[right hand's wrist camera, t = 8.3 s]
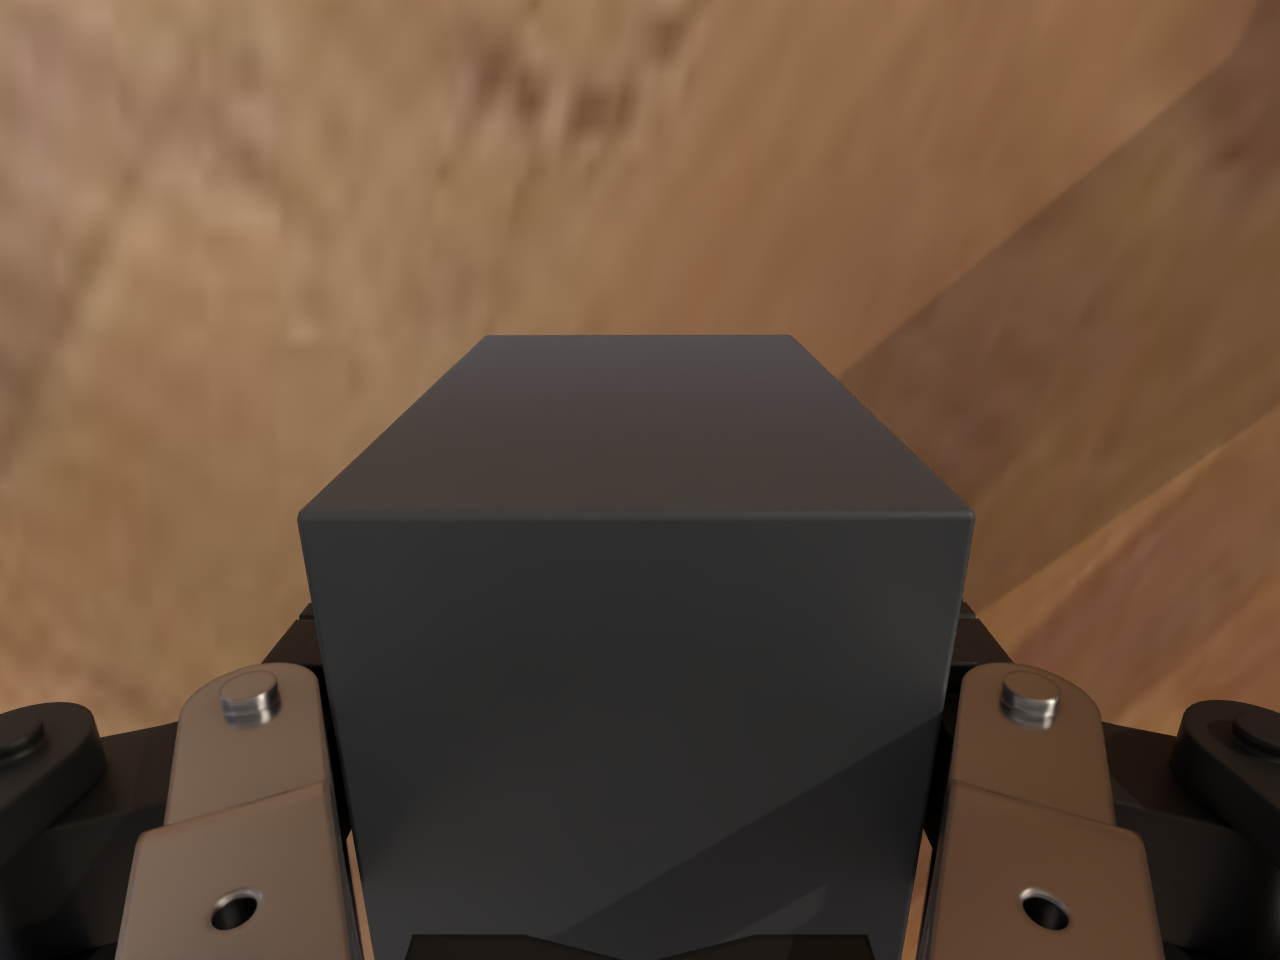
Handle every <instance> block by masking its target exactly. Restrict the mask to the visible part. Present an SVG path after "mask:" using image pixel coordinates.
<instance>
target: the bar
mask: <svg viewBox="0 0 1280 960" xmlns="http://www.w3.org/2000/svg"><path fill="white" fill-rule="evenodd" d="M297 522H298V527H299V533H300V539H301V544H302V550H303V556H304V561H305V567H306V573H307V578H308V584H309V590H310V595H311V601H312V607H313V612H314V618H315V624H316V630H317V635H318V641H319V647H320V652H321V658H322V664H323V669H324V675H325V681H326V686H327V692H328V698H329V703H330V709H331V715H332V720H333V726H334V732H335V737H336V743H337V749H338V754H339V760H340V766H341V772H342V777H343V783H344V789H345V794H346V800H347V806H348V811H349V817H350V823H351V828H352V834H353V840H354V845H355V851H356V857H357V862H358V868H359V874H360V879H361V885H362V891H363V896H364V902H365V908H366V914H367V919H368V925H369V931H370V936H371V942H372V948H373V953H374V959H375V960H405V957H406V954H407V951H408V948H409V944H410V941H411V938H412V934H524V935H528V936H532V937H536V938H540V939H544V940H548V941H552V942H556V943H560V944H564V945H568V946H572V947H575V948H579V949H583V950H587V951H591V952H595V953H599V954H603V955H607V956H611V957H615V958H619V959H623V960H657V959H661V958H665V957H669V956H673V955H677V954H681V953H685V952H689V951H693V950H697V949H701V948H705V947H708V946H712V945H716V944H720V943H724V942H728V941H732V940H736V939H740V938H744V937H748V936H752V935H756V934H868V938H869V941H870V944H871V948H872V951H873V954H874V957H875V960H901V956H902V951H903V945H904V939H905V933H906V927H907V921H908V915H909V909H910V903H911V897H912V891H913V885H914V879H915V873H916V868H917V862H918V856H919V850H920V844H921V838H922V832H923V826H924V820H925V814H926V808H927V802H928V796H929V791H930V785H931V779H932V773H933V767H934V761H935V755H936V749H937V743H938V737H939V731H940V725H941V719H942V713H943V708H944V702H945V696H946V690H947V684H948V678H949V672H950V666H951V660H952V654H953V648H954V642H955V636H956V630H957V625H958V619H959V613H960V607H961V601H962V595H963V589H964V583H965V577H966V571H967V565H968V559H969V553H970V547H971V542H972V536H973V530H974V524H975V515H974V512H973V510H972V509H971V508H970V507H969V506H968V505H967V504H966V503H965V502H964V501H963V500H962V499H960V498H959V497H958V496H957V495H956V494H955V493H954V492H953V491H952V490H951V489H950V488H949V487H948V486H947V485H946V484H945V483H944V482H943V481H942V480H941V479H940V478H939V477H938V476H937V475H936V474H935V473H933V472H932V471H931V470H930V469H929V468H928V467H927V466H926V465H925V464H924V463H923V462H922V461H921V460H920V459H919V458H918V457H917V456H916V455H915V454H914V453H913V452H912V451H911V450H910V449H909V448H907V447H906V446H905V445H904V444H903V443H902V442H901V441H900V440H899V439H898V438H897V437H896V436H895V435H894V434H893V433H892V432H891V431H890V430H889V429H888V428H887V427H886V426H885V425H884V424H883V423H882V422H880V421H879V420H878V419H877V418H876V417H875V416H874V415H873V414H872V413H871V412H870V411H869V410H868V409H867V408H866V407H865V406H864V405H863V404H862V403H861V402H860V401H859V400H858V399H857V398H856V397H854V396H853V395H852V394H851V393H850V392H849V391H848V390H847V389H846V388H845V387H844V386H843V385H842V384H841V383H840V382H839V381H838V380H837V379H836V378H835V377H834V376H833V375H832V374H831V373H830V372H828V371H827V370H826V369H825V368H824V367H823V366H822V365H821V364H820V363H819V362H818V361H817V360H816V359H815V358H814V357H813V356H812V355H811V354H810V353H809V352H808V351H807V350H806V349H805V348H804V347H803V346H801V345H800V344H799V343H798V342H797V341H796V340H795V339H794V338H793V337H792V336H790V335H487V336H485V337H484V338H483V339H482V340H481V341H479V342H478V343H477V344H476V345H475V346H474V347H473V348H472V349H471V350H470V351H469V352H468V353H467V354H466V355H465V356H464V357H463V358H462V359H460V360H459V361H458V362H457V363H456V364H455V365H454V366H453V367H452V368H451V369H450V370H449V371H448V372H447V373H446V374H445V375H444V376H442V377H441V378H440V379H439V380H438V381H437V382H436V383H435V384H434V385H433V386H432V387H431V388H430V389H429V390H428V391H427V392H426V393H424V394H423V395H422V396H421V397H420V398H419V399H418V400H417V401H416V402H415V403H414V404H413V405H412V406H411V407H410V408H409V409H408V410H406V411H405V412H404V413H403V414H402V415H401V416H400V417H399V418H398V419H397V420H396V421H395V422H394V423H393V424H392V425H391V426H390V427H389V428H387V429H386V430H385V431H384V432H383V433H382V434H381V435H380V436H379V437H378V438H377V439H376V440H375V441H374V442H373V443H372V444H371V445H369V446H368V447H367V448H366V449H365V450H364V451H363V452H362V453H361V454H360V455H359V456H358V457H357V458H356V459H355V460H354V461H353V462H351V463H350V464H349V465H348V466H347V467H346V468H345V469H344V470H343V471H342V472H341V473H340V474H339V475H338V476H337V477H336V478H335V479H334V480H332V481H331V482H330V483H329V484H328V485H327V486H326V487H325V488H324V489H323V490H322V491H321V492H320V493H319V494H318V495H317V496H316V497H314V498H313V499H312V500H311V501H310V502H309V503H308V504H307V505H306V506H305V507H304V508H303V509H302V510H301V511H300V512H299V515H298V518H297Z"/></svg>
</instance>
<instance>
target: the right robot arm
mask: <svg viewBox="0 0 1280 960" xmlns="http://www.w3.org/2000/svg"><path fill="white" fill-rule="evenodd" d="M923 828H924V831H925V833H926V835H927V838H928V840H929V842H930V844H931V847H932V852H931V857H930V863H929V869H928V876H927V883H926V890H925V897H924V904H923V911H922V918H921V925H920V932H919V938H918V945H917V952H916V959H915V960H1280V713H1277V712H1275V711H1272V710H1269V709H1266V708H1262V707H1259V706H1255V705H1251V704H1247V703H1242V702H1235V701H1226V700H1207V701H1202V702H1198V703H1195V704H1193V705H1191V706H1190V707H1188V708H1187V709H1186V711H1185V712H1184V714H1183V718H1182V721H1181V724H1180V728H1179V731H1178V734H1177V737H1175V736H1170V735H1165V734H1160V733H1155V732H1150V731H1145V730H1140V729H1135V728H1129V727H1124V726H1119V725H1114V724H1110V723H1106V722H1102V720H1101V715H1100V711H1099V709H1098V707H1097V705H1096V704H1095V702H1094V701H1093V700H1092V699H1091V698H1090V696H1089V695H1087V694H1086V693H1085V692H1084V691H1083V690H1082V689H1080V688H1079V687H1077V686H1076V685H1074V684H1073V683H1071V682H1069V681H1068V680H1066V679H1064V678H1062V677H1060V676H1058V675H1055V674H1053V673H1051V672H1048V671H1045V670H1042V669H1039V668H1035V667H1032V666H1027V665H1022V664H1016V663H1013V662H1012V660H1011V659H1010V658H1009V656H1008V655H1007V654H1006V653H1005V651H1004V650H1003V649H1002V648H1001V646H1000V645H999V644H998V643H997V641H996V640H995V639H994V637H993V636H992V635H991V634H990V632H989V631H988V630H987V629H986V627H985V626H984V625H983V624H982V622H981V621H980V620H979V619H976V618H975V613H974V612H973V611H972V610H971V608H970V607H969V606H968V604H967V603H966V602H963V598H962V601H961V607H960V613H959V619H958V625H957V630H956V636H955V642H954V648H953V654H952V660H951V666H950V672H949V678H948V684H947V690H946V696H945V702H944V708H943V713H942V719H941V725H940V731H939V737H938V743H937V749H936V755H935V761H934V767H933V773H932V779H931V785H930V791H929V796H928V802H927V808H926V814H925V820H924V826H923ZM350 831H351V823H350V817H349V811H348V806H347V800H346V794H345V789H344V783H343V777H342V772H341V766H340V760H339V754H338V749H337V743H336V737H335V732H334V726H333V720H332V715H331V709H330V703H329V698H328V692H327V686H326V681H325V675H324V669H323V664H322V658H321V652H320V647H319V641H318V635H317V630H316V624H315V618H314V612H313V607H312V603H309V604H308V606H307V607H306V608H305V609H304V611H303V612H302V613H301V614H300V618H299V620H296V621H295V622H294V623H293V624H292V626H291V627H290V628H289V629H288V631H287V632H286V633H285V634H284V636H283V637H282V638H281V639H280V641H279V642H278V643H277V644H276V646H275V647H274V648H273V649H272V651H271V652H270V653H269V654H268V656H267V657H266V658H265V659H264V661H263V662H262V663H261V664H258V665H253V666H248V667H245V668H241V669H238V670H235V671H232V672H229V673H227V674H225V675H222V676H220V677H218V678H216V679H214V680H212V681H211V682H209V683H207V684H206V685H204V686H203V687H201V688H200V689H198V690H197V691H196V692H195V693H194V694H193V695H191V696H190V698H189V699H188V700H187V701H186V702H185V704H184V705H183V707H182V709H181V711H180V715H179V720H178V721H177V722H174V723H170V724H166V725H162V726H157V727H152V728H147V729H142V730H137V731H132V732H127V733H122V734H117V735H111V736H106V737H101V738H100V736H99V733H98V729H97V726H96V723H95V720H94V717H93V715H92V713H91V711H90V710H89V709H87V708H86V707H84V706H81V705H79V704H74V703H68V702H53V703H43V704H36V705H31V706H27V707H22V708H19V709H15V710H12V711H9V712H5V713H3V714H0V960H365V959H364V952H363V945H362V938H361V932H360V925H359V918H358V911H357V904H356V897H355V890H354V883H353V876H352V869H351V863H350V857H349V852H348V846H347V840H346V839H347V837H348V835H349V833H350ZM405 960H623V959H619V958H615V957H611V956H607V955H603V954H599V953H595V952H591V951H587V950H583V949H579V948H575V947H572V946H568V945H564V944H560V943H556V942H552V941H548V940H544V939H540V938H536V937H532V936H528V935H524V934H412V938H411V941H410V944H409V948H408V951H407V954H406V957H405ZM657 960H875V957H874V954H873V951H872V948H871V944H870V941H869V938H868V934H756V935H752V936H748V937H744V938H740V939H736V940H732V941H728V942H724V943H720V944H716V945H712V946H708V947H705V948H701V949H697V950H693V951H689V952H685V953H681V954H677V955H673V956H669V957H665V958H661V959H657Z"/></svg>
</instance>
